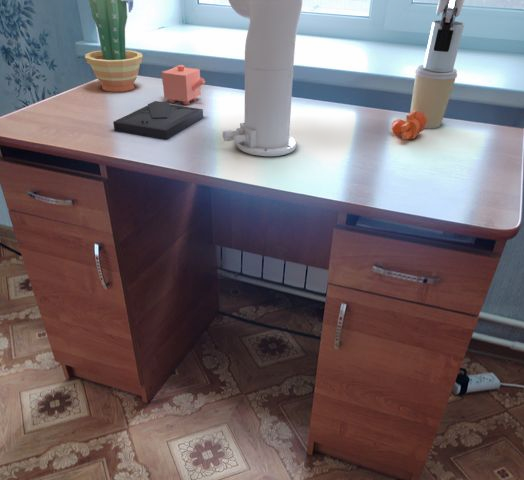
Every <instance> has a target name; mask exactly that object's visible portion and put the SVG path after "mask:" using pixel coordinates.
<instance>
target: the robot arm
mask: <svg viewBox="0 0 524 480" xmlns="http://www.w3.org/2000/svg"><path fill="white" fill-rule="evenodd" d="M228 3H229V5H230V6H231V8H232V9H233V11H234V12H235V13H237V14H238V15H239V16H240V17H242V18H245V19H248V20H249V24H248V29H247V32H246V33H247V34H246V38H245V43H244V45H245V46H244V122H240V123H239V127H237V128H236V129H235V130H231V129H230V130H224V131H222V139H223V141H224V142H228V141H233V142H234V144H236V146H237V148H238V149H239V150H241V151H242V152H243V153H245V154H249V155H253V156H260V157H280V156H284V155H289V154H290V153H292V152H294V151H295V150H296V148H297V141H296V140H295V138H293V136H290V128H291V116H292V115H291V114H292V97H293V82H294V81H293V80H294V64H295V63H294V62H295V52H296V51H295V49H296V40H297V32H298V27H299V23H300V18H301V13H302V9H303V8H302V7H303V0H228ZM464 3H465V0H438V2H437V7H436V11H435V15H436V16H437V17H439V16H440V14H441V19H440V20H441V24H440V28H439V29H438V32H437V37H436V41H435V46H434V51H442V52H448V51H449V47H450V43H451V39H452V35H453V31H454V30H453V25H454V21H456V18H458V17H459V16H460V13H461V11H462V8H463V5H464Z"/></svg>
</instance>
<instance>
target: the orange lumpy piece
mask: <svg viewBox="0 0 524 480" xmlns="http://www.w3.org/2000/svg"><path fill="white" fill-rule="evenodd" d="M426 122H427V118H426V116H425V115H424V114H423V113H421V112H417V110H415V111H412V112H410V111H409V113H408V114H407V115H406V121H405V120H404V119H401V118H399V119H395V120H393V122H392V123H391V127H390V128H391V131H392V133H393V134H394V135H396V136H401V138H402V140H414V139H415V138H416V137H418V136H419V134H420V133H421V132H423V131H424V130H425V129H426V128H425V125H426Z"/></svg>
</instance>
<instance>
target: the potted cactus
mask: <svg viewBox="0 0 524 480" xmlns="http://www.w3.org/2000/svg"><path fill="white" fill-rule="evenodd" d="M88 2H89V6H90V7H89V8H90V12H91V17H92V19H93V21H94V23H95V25H96V28H97V33H98V38H99V39H98V40H99V44H100V50H93V51H90V52H87V53H85V54H84V58H85V61H86V63H87V65H89V66H90V67H91V70H92V72H93V73H94V76H95V77H96V79H97V80H98V81H99V82H100V84H101V85H102V86H101V87H102V88H101V89H102V90H103V91H106V92H113V93H116V92H117V93H118V92H119V93H120V92H128V91H132V90H134V89H135V88H136V87H135V82H136V80H137V77H138V76H139V72H140V65H141V64H142V63H143V53H142V52H139V51H136V50H131V49H129V50H128V49H126V25H127V21H128V13H131V12H132V11H133V8H134V0H88ZM127 4H128V5H127ZM127 6H128V7H127Z"/></svg>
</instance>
